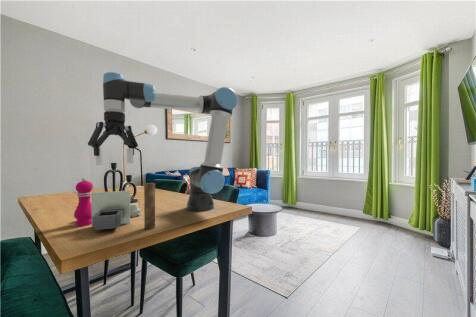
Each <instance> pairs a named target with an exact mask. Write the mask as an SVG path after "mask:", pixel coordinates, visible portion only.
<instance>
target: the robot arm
mask: <svg viewBox="0 0 476 317" xmlns="http://www.w3.org/2000/svg"><path fill="white" fill-rule="evenodd" d="M102 78H103V80H102V93H103V94H102V95H103V110H104V112H103V120H104V122H103V121H97V122H96V123H95V129H94V130H93V133H92V134H91V137H90V139H89V141H88V142H87V146H90V147H91V148H93V156H94V157H95V165H96V166H97V165H99V166H102V165H103V163H104V162H103V147H101V146H102V145H103V144H104V142H105V141H107V139H108V137H110V136H119V137H120V138H121V139H122V140H123V142H124V144H126V146H127V147H128V148H126V159H127V160H126V161H127V162H126V163H127V164H134V155H135V149H137V148H138V147H139V144H138V143H137V140H136V137H135V135H134V133H133V130H132V126H131V125H125V122H126V113H125V112H126V104H125V100H129V104H130V105H131V106H132V107H133V108H135V109H142V108H153V109H164V110H165V109H166V110H167V109H168V110H179V111H190V112H198V113H199V114H206V115H211V118H210V127H209V131H208V132H209V133H208V137H207V144H206V150H205V154H204V161H203V162H202V163H201V164H200V166H193V167H190V169H189V174H188V175H189V196H188V198H187V199H188V200H187V202H186V209H187V210H188V211H194V212H203V211H204V212H205V211H209V210H212V209H214V208H215V202H214V200H213V196H212V195H213V194H217V193H219V192H220V191H222V189H223V187H224V186H225V182H226V179H225V176H224V174H223V171H224V167H223V166H222V159H223V154H224V147H225V140H226V135H227V130H228V128H227V127H228V122H229V120H230V118H232V117H233V116H232V115H233V110H234V109H235V108H236V106H238V103H239V101H238V100H239V99H238V95H237V93H235V90H233V88H230V87H227V86H222V87H220V88H218V89H217V90H215V91H214V92H213V93H210V94H208V95H199V96H190V95H182V94H181V95H180V94H172V93H163V92H156V88H155V87H156V86H155V85H153V84H150V83H147V82H145V83H144V82H137V81H130V80H125V77H124V75H123V74H121V73H118V72H114V71H113V72H111V71H109V72H105V73H103V77H102ZM103 129H105V130H104V131H103ZM102 131H103V132H102ZM101 133H102V134H101Z"/></svg>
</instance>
